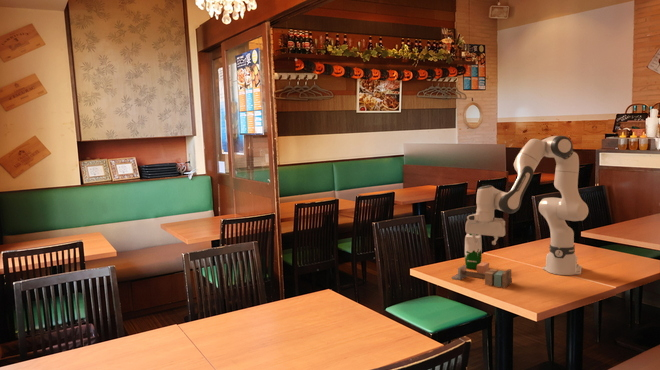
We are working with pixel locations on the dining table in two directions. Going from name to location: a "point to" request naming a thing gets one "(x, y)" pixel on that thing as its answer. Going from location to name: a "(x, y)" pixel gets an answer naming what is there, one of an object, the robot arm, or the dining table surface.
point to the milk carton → (472, 251)
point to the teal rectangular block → (498, 278)
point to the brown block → (490, 277)
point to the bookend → (460, 273)
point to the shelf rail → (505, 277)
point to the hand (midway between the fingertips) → (484, 243)
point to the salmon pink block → (483, 267)
